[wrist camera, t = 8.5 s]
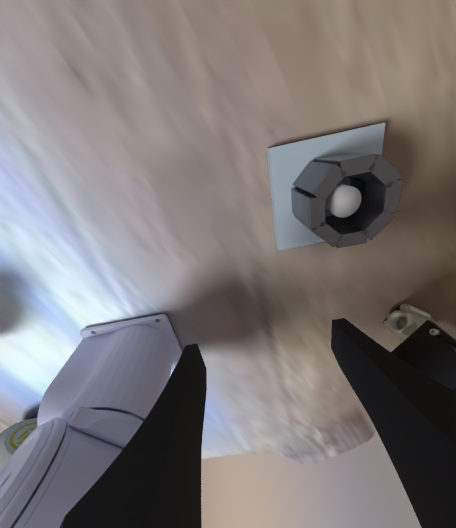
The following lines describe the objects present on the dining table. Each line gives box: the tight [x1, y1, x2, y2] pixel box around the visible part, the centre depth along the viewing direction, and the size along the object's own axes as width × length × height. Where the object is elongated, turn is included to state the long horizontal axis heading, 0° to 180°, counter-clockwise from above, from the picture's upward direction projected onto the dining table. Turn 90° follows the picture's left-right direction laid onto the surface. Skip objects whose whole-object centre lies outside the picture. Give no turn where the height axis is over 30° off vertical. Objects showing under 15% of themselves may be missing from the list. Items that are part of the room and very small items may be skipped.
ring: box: [291, 153, 403, 248], centre depth 15 cm, size 5×5×4 cm
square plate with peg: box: [266, 123, 385, 251], centre depth 16 cm, size 8×8×4 cm
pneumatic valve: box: [384, 303, 456, 391], centre depth 19 cm, size 6×12×12 cm, turn 65°
